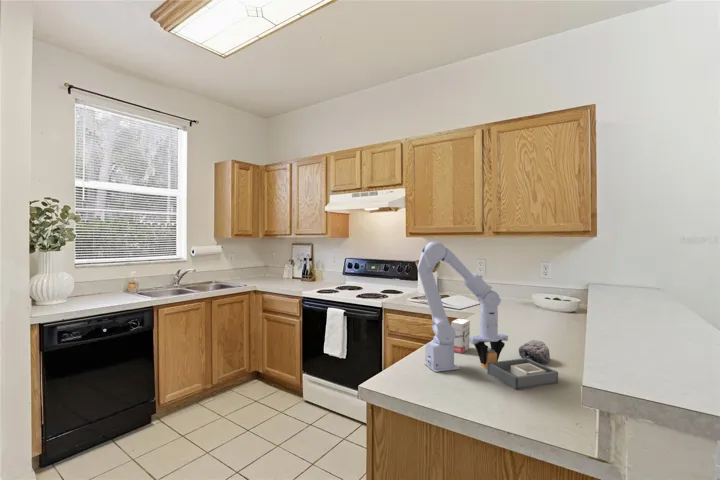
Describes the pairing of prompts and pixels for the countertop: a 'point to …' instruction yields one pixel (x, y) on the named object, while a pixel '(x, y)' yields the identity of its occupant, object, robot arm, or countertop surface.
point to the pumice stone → (535, 351)
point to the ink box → (461, 334)
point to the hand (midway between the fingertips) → (488, 362)
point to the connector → (490, 357)
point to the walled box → (522, 373)
